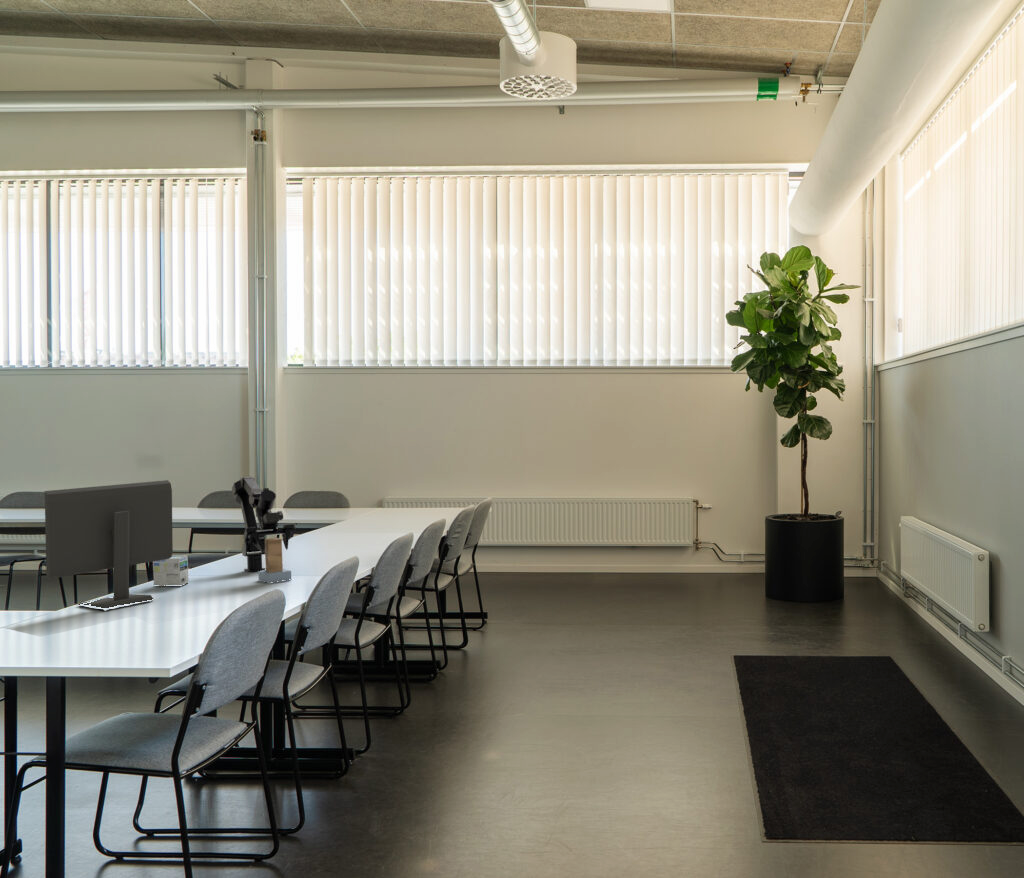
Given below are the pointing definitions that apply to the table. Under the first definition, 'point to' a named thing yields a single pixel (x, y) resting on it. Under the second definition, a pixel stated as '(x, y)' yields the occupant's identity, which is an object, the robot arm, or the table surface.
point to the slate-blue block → (274, 576)
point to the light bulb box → (171, 571)
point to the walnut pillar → (273, 555)
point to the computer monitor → (108, 532)
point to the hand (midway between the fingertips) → (275, 550)
